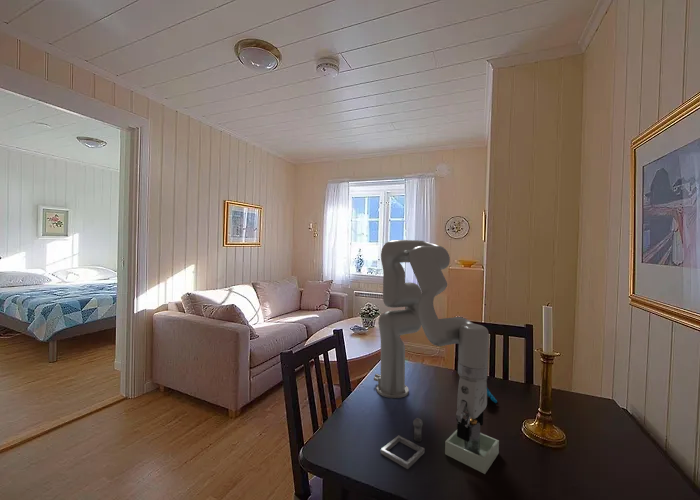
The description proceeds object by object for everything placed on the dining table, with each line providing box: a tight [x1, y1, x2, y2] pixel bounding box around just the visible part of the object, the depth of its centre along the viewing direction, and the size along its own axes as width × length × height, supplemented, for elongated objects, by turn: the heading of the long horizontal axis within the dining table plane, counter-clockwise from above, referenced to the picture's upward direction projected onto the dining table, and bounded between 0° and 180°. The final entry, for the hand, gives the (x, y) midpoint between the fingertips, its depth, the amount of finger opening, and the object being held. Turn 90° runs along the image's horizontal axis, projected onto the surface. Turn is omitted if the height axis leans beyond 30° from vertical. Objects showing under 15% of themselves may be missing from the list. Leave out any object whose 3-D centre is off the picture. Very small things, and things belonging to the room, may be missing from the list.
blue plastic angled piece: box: [487, 387, 498, 404], centre depth 114 cm, size 11×6×10 cm
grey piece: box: [380, 417, 425, 470], centre depth 86 cm, size 9×14×6 cm, turn 137°
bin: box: [444, 429, 500, 475], centre depth 84 cm, size 11×11×4 cm
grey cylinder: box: [464, 418, 481, 455], centre depth 84 cm, size 4×4×9 cm
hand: (470, 430), depth 84 cm, fingers open, 9 cm apart
